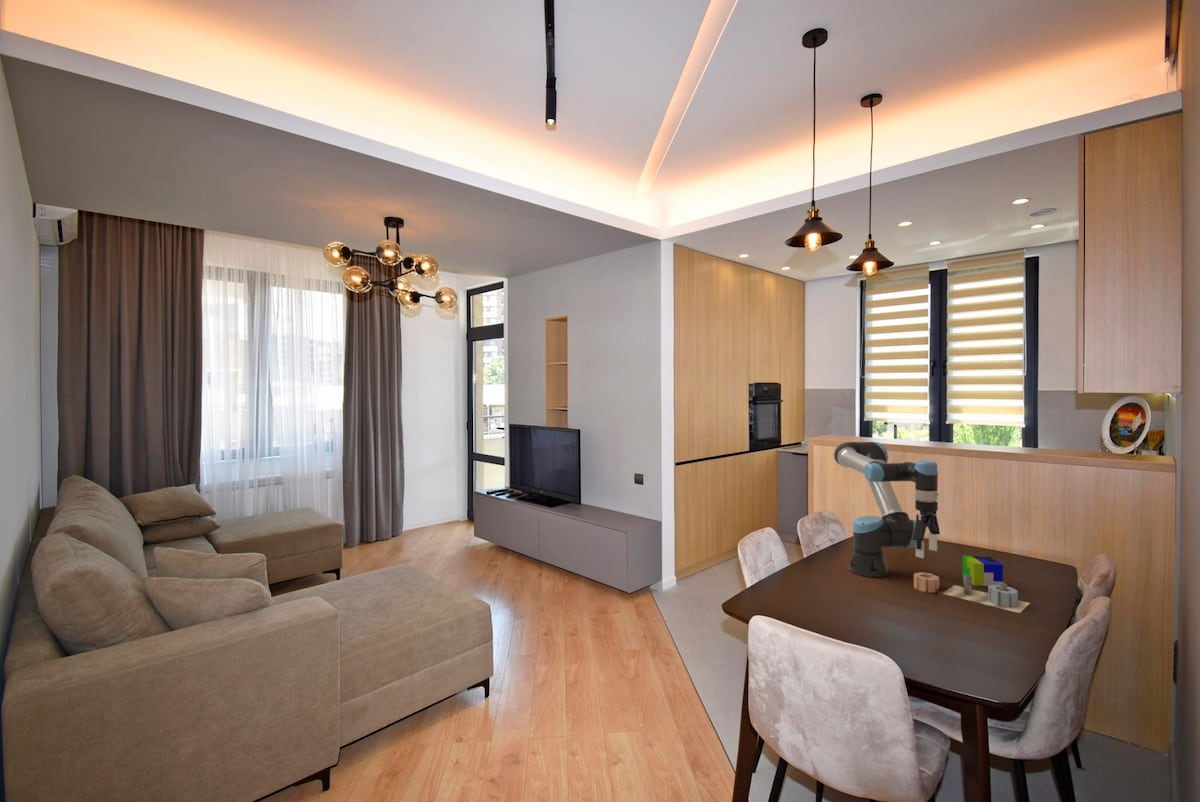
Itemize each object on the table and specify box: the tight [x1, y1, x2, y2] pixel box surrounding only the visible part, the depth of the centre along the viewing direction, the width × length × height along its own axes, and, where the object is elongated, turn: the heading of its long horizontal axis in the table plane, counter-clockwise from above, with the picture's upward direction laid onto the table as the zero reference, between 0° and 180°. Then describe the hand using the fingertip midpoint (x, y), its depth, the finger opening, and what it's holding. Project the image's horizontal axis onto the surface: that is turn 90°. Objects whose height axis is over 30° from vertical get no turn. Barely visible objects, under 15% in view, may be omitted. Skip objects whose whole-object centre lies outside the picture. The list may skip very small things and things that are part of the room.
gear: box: [987, 585, 1019, 607], centre depth 196 cm, size 8×8×5 cm
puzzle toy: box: [962, 555, 1004, 587], centre depth 216 cm, size 10×10×10 cm
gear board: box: [941, 575, 1031, 614], centre depth 200 cm, size 24×13×8 cm, turn 39°
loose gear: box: [913, 572, 940, 594], centre depth 213 cm, size 8×8×5 cm
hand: (926, 553), depth 213 cm, fingers open, 13 cm apart
